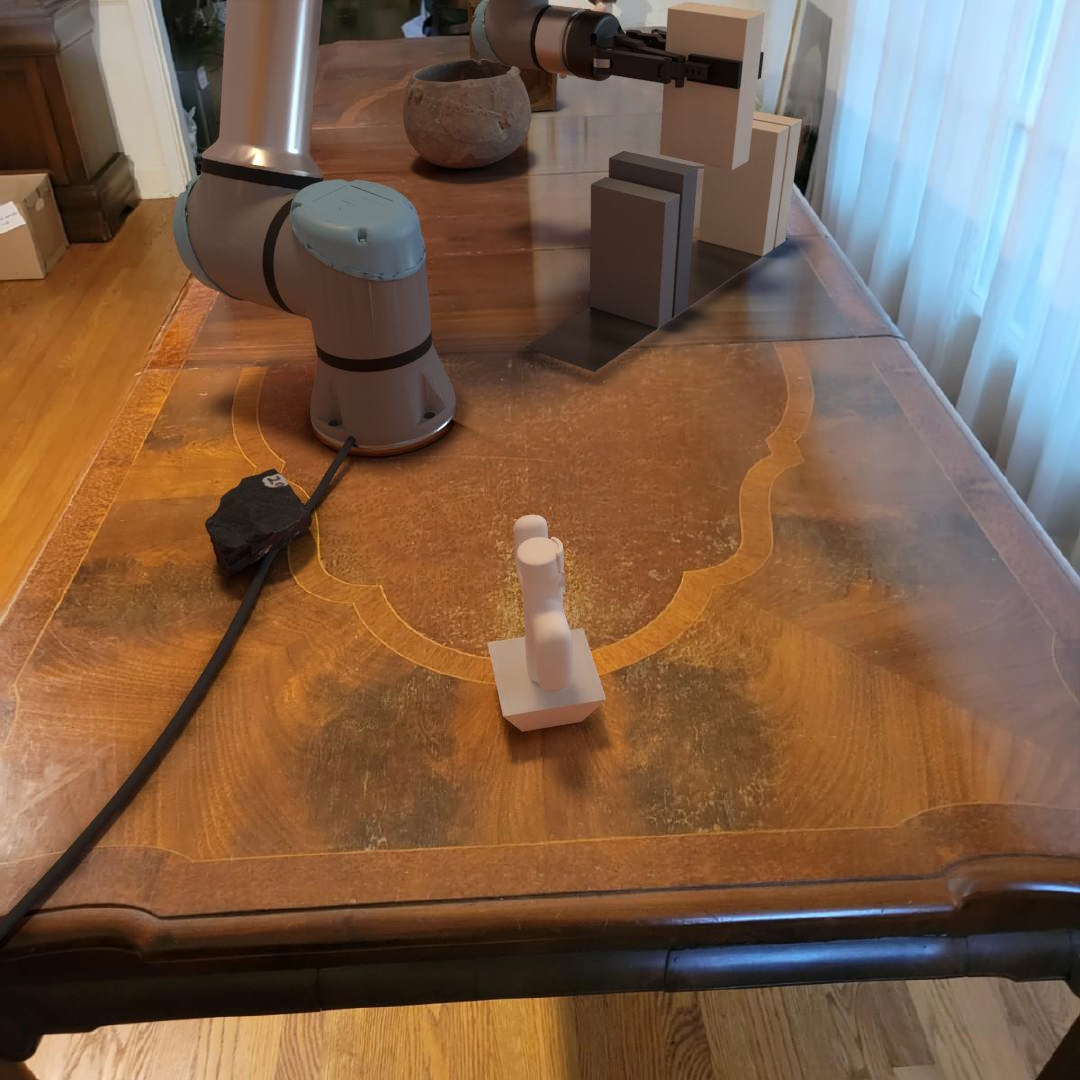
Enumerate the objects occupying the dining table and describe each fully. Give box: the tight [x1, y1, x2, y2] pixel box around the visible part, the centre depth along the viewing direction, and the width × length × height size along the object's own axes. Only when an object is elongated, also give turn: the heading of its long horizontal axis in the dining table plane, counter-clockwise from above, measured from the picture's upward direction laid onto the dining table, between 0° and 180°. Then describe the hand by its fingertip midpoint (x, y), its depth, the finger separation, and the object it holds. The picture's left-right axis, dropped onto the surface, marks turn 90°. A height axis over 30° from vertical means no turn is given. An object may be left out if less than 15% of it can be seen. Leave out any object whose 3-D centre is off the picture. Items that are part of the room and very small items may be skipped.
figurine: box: [487, 514, 607, 732], centre depth 67 cm, size 7×9×15 cm
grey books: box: [589, 150, 699, 329], centre depth 115 cm, size 6×10×17 cm, turn 52°
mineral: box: [204, 468, 313, 577], centre depth 86 cm, size 10×9×6 cm
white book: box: [659, 1, 766, 170], centre depth 113 cm, size 4×10×16 cm, turn 52°
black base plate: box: [524, 237, 790, 373], centre depth 124 cm, size 46×10×1 cm, turn 142°
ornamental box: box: [466, 0, 559, 113], centre depth 197 cm, size 35×18×18 cm, turn 5°
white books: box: [697, 110, 803, 257], centre depth 130 cm, size 6×10×16 cm, turn 52°
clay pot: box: [402, 58, 532, 169], centre depth 162 cm, size 21×21×15 cm
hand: (750, 70), depth 109 cm, fingers closed on white book, 4 cm apart
